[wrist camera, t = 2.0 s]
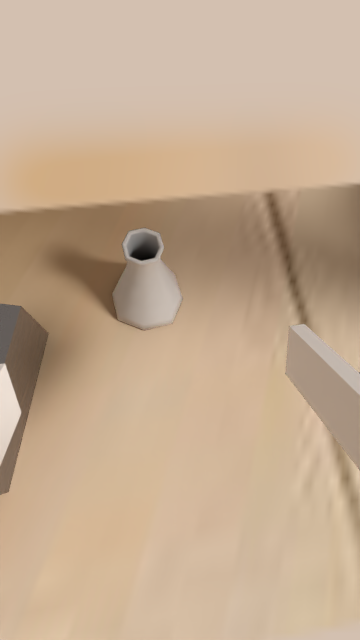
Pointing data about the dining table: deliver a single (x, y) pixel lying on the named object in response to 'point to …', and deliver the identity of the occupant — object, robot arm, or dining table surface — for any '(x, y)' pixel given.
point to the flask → (146, 283)
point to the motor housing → (19, 372)
